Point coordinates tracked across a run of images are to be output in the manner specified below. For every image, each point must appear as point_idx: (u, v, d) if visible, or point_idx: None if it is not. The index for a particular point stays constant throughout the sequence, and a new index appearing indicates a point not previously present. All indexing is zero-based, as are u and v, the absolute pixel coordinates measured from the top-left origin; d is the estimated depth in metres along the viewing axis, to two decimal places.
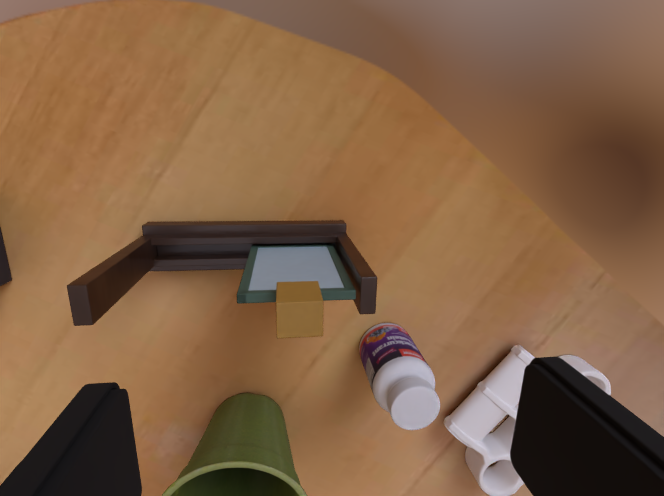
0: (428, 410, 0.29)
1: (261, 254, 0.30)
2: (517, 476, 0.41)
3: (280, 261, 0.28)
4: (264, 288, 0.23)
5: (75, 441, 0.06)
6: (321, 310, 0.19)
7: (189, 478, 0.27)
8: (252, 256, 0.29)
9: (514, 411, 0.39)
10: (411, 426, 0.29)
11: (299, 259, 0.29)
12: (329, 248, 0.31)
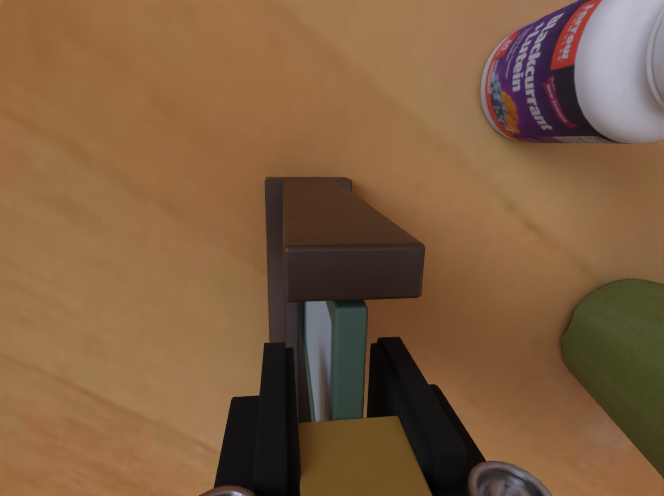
0: None
1: (309, 355, 0.16)
2: None
3: (312, 348, 0.14)
4: None
5: (287, 380, 0.08)
6: None
7: None
8: (308, 381, 0.15)
9: None
10: None
11: (311, 307, 0.14)
12: None
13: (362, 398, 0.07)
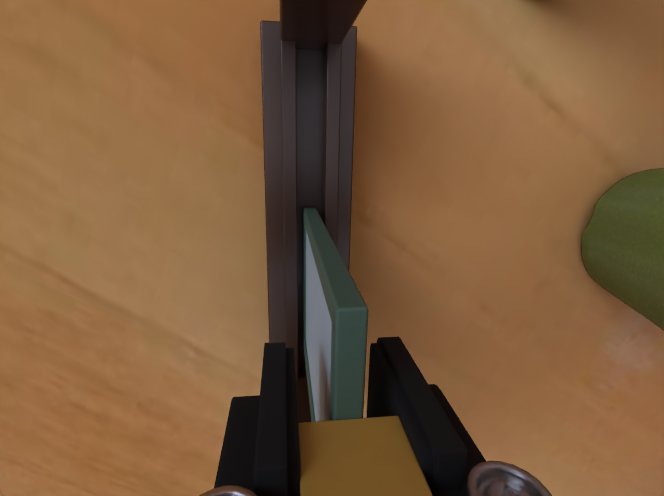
0: None
1: (308, 356, 0.16)
2: None
3: (312, 348, 0.14)
4: None
5: (287, 380, 0.08)
6: None
7: None
8: (307, 381, 0.15)
9: None
10: None
11: (311, 307, 0.14)
12: (304, 226, 0.16)
13: (362, 398, 0.07)
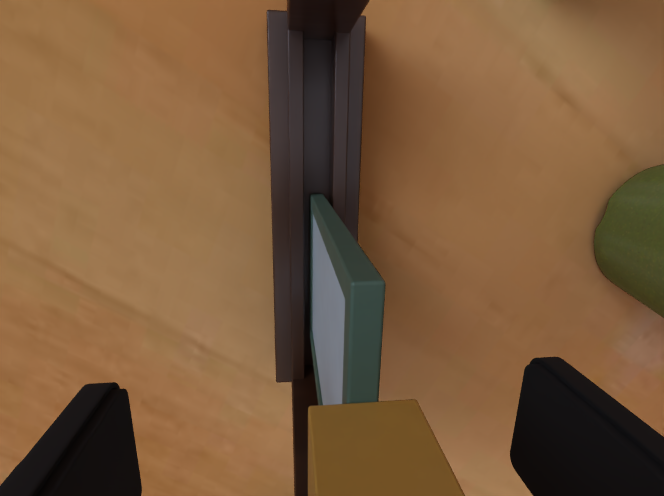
0: None
1: (315, 345, 0.16)
2: None
3: (320, 336, 0.13)
4: None
5: (75, 441, 0.06)
6: None
7: None
8: (315, 371, 0.15)
9: None
10: None
11: (319, 294, 0.14)
12: (312, 211, 0.15)
13: (378, 380, 0.07)
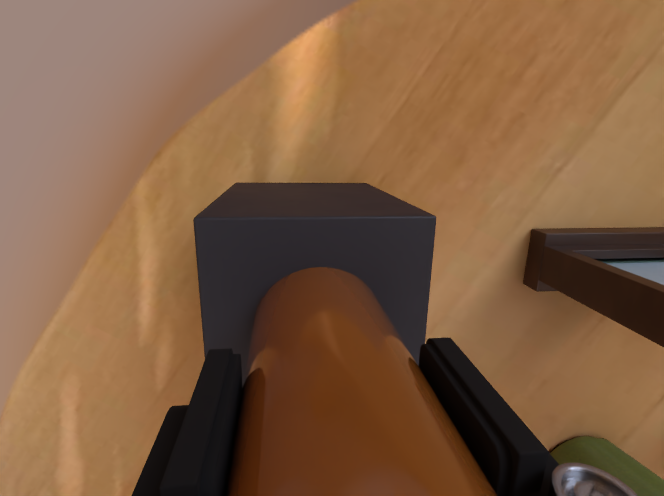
0: None
1: None
2: None
3: None
4: None
5: (223, 389, 0.07)
6: None
7: None
8: None
9: None
10: None
11: None
12: None
13: None
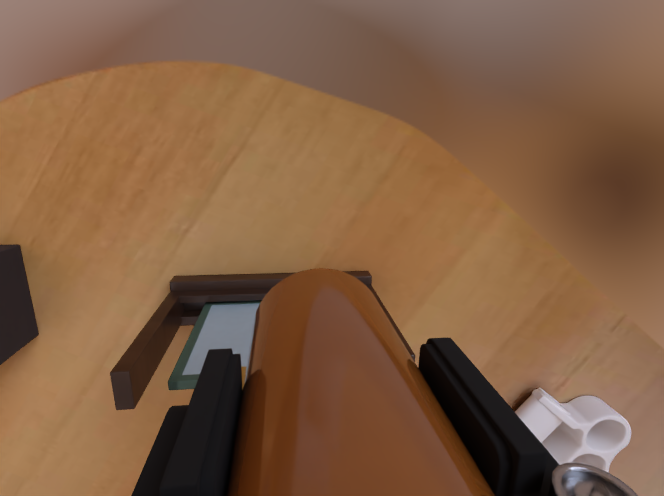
0: None
1: (212, 316, 0.29)
2: None
3: (228, 327, 0.27)
4: (200, 370, 0.22)
5: (223, 389, 0.07)
6: None
7: None
8: (201, 320, 0.28)
9: None
10: None
11: (249, 323, 0.28)
12: None
13: None
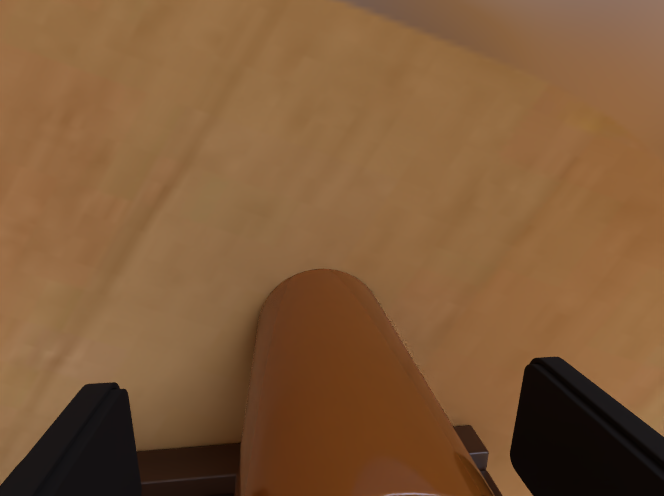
0: None
1: None
2: None
3: None
4: None
5: (75, 441, 0.06)
6: None
7: None
8: None
9: None
10: None
11: None
12: None
13: None
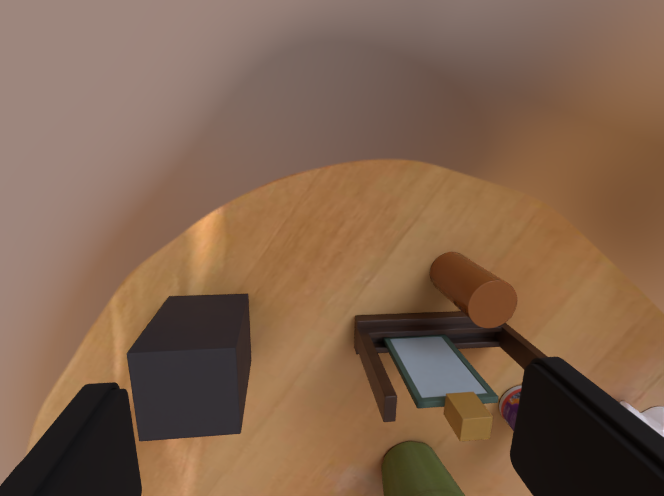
0: None
1: (398, 349, 0.38)
2: None
3: (419, 358, 0.37)
4: (431, 394, 0.32)
5: (75, 441, 0.06)
6: (491, 422, 0.28)
7: None
8: (396, 353, 0.37)
9: None
10: None
11: (432, 355, 0.37)
12: (446, 340, 0.40)
13: None
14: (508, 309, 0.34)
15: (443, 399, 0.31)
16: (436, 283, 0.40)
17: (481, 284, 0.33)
